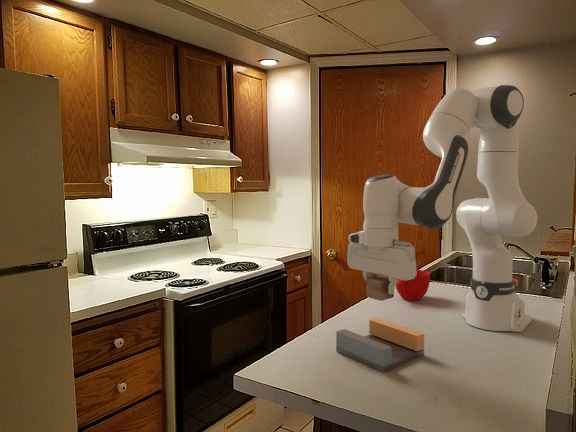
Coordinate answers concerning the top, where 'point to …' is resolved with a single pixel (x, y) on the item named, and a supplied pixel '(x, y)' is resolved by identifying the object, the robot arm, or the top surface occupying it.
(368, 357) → the frame
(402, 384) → the top surface
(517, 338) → the top surface
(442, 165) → the robot arm
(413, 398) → the top surface
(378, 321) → the block
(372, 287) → the block
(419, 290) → the ceramic cup
